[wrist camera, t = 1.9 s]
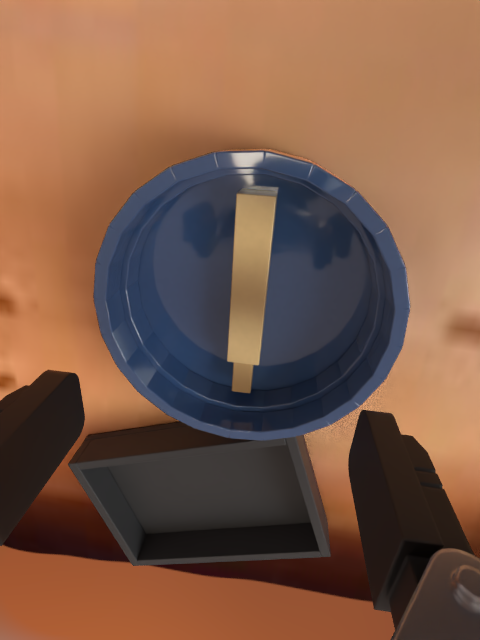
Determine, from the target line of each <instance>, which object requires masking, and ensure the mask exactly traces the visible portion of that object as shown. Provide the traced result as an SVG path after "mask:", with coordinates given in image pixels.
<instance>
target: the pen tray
mask: <svg viewBox="0 0 480 640" xmlns="http://www.w3.org/2000/svg"><path fill="white" fill-rule="evenodd" d="M68 465H69V467H70V468H71V470H72V472H73V473H74V475H75V476H76V478H77V479H78V481H79V482H80V484H81V486H82V487H83V489H84V490H85V492H86V493H87V495H88V497H89V498H90V500H91V501H92V503H93V504H94V506H95V507H96V509H97V511H98V512H99V514H100V515H101V517H102V518H103V520H104V521H105V523H106V525H107V526H108V528H109V529H110V531H111V532H112V534H113V536H114V537H115V539H116V540H117V542H118V543H119V545H120V546H121V548H122V550H123V551H124V553H125V554H126V556H127V557H128V559H129V561H130V562H131V564H132V565H133V566H138V565H162V564H184V563H205V562H226V561H248V560H269V559H290V558H312V557H321V556H322V557H330V544H329V534H328V523H327V518H326V514H325V511H324V507H323V503H322V500H321V496H320V493H319V489H318V485H317V482H316V478H315V475H314V471H313V468H312V464H311V460H310V457H309V453H308V450H307V446H306V442H305V439H304V435H301V436H296V437H290V438H282V439H274V440H266V441H264V440H263V441H259V440H246V439H232V438H226V437H223V436H219V435H216V434H212V433H208V432H205V431H201V430H198V429H197V428H196V429H195V428H193V427H191V426H189V425H187V424H185V423H183V422H177V423H170V424H163V425H156V426H149V427H143V428H136V429H129V430H122V431H115V432H108V433H101V434H95V435H88V436H87V437H86V439H85V441H84V442H83V443H82V445H81V446H80V448H79V449H78V450H77V452H76V453H75V455H74V456H73V458H72V459H71V461H70V462H69V463H68Z"/></svg>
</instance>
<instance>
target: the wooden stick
mask: <svg viewBox="0 0 480 640" xmlns="http://www.w3.org/2000/svg"><path fill="white" fill-rule="evenodd" d="M277 194H278V192H277V191H265V190H253V189H241V190H240V191H239V192H238V193H237V194H236V211H235V228H234V246H233V263H232V281H231V298H230V316H229V334H228V351H227V361H228V362H233V377H232V391H235V392H242V393H250V392H251V386H252V378H253V368H254V365H259V361H260V354H261V347H262V337H263V328H264V318H265V309H266V299H267V290H268V280H269V271H270V261H271V251H272V242H273V232H274V223H275V213H276V204H277Z"/></svg>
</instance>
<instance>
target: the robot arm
mask: <svg viewBox="0 0 480 640" xmlns="http://www.w3.org/2000/svg"><path fill="white" fill-rule="evenodd" d="M84 420H85V414H84V408H83V402H82V395H81V389H80V383H79V378H78V376H77V375H76V374H75V373H69V372H61V371H53V370H47V371H45V372H44V373H43V374H41V375H40V376H39V377H38V378H37V379H36V380H35V381H34V382H33V383H32V384H31V385H30V386H27V385H25V386H24V387H22V388H20V389H18V390H16V391H14V392H12V393H10V394H9V395H7V396H5V397H4V398H3V399H2V400H1V401H0V546H2V545H3V543H4V542H5V540H6V539H7V538H8V536H9V535H10V533H11V532H12V531H13V529H14V528H15V526H16V525H17V524H18V522H19V521H20V519H21V518H22V516H23V515H24V514H25V512H26V511H27V509H28V508H29V507H30V505H31V504H32V502H33V501H34V500H35V498H36V497H37V495H38V494H39V493H40V491H41V490H42V488H43V487H44V485H45V484H46V483H47V481H48V480H49V478H50V477H51V476H52V474H53V473H54V471H55V470H56V469H57V467H58V466H59V464H60V463H61V462H62V460H63V459H64V457H65V456H66V454H67V453H68V452H69V450H70V449H71V447H72V446H73V445H74V443H75V442H76V440H77V439H78V437H79V436H80V434H81V432H82V429H83V426H84ZM348 466H349V477H350V483H351V488H352V493H353V499H354V504H355V509H356V515H357V520H358V525H359V531H360V536H361V542H362V547H363V552H364V558H365V563H366V568H367V574H368V579H369V584H370V590H371V595H372V600H373V605H374V609H376V610H383V611H388V612H391V614H392V618H393V623H394V627H395V632H394V634H393V636H392V638H391V640H480V559H479V558H478V557H476V556H475V555H474V553H473V551H472V550H471V547H470V545H469V543H468V541H467V539H466V536H465V534H464V532H463V530H462V527H461V525H460V523H459V521H458V519H457V516H456V514H455V512H454V510H453V508H452V505H451V503H450V501H449V499H448V497H447V494H446V492H445V490H444V489H442V483H441V481H440V479H439V477H438V475H437V474H436V473H435V468H434V466H433V464H432V461H431V459H430V457H429V455H428V453H427V451H426V450H425V449H424V448H423V447H422V446H421V445H420V444H419V443H418V442H417V441H416V440H415V438H414V437H413V436H409V435H401V433H400V431H399V428H398V426H397V423H396V420H395V418H394V416H393V415H392V414H391V413H384V412H376V411H368V410H362V411H361V413H360V415H359V419H358V423H357V426H356V430H355V434H354V437H353V441H352V445H351V449H350V453H349V464H348Z"/></svg>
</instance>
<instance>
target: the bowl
mask: <svg viewBox="0 0 480 640" xmlns="http://www.w3.org/2000/svg"><path fill="white" fill-rule="evenodd" d="M241 189H253V190H265V191H277V192H278V194H277V204H276V213H275V223H274V232H273V242H272V251H271V261H270V271H269V280H268V290H267V299H266V309H265V318H264V328H263V337H262V347H261V354H260V361H259V365H254V368H253V378H252V386H251V392H250V393H242V392H235V391H232V377H233V362H228V361H227V351H228V334H229V316H230V298H231V281H232V263H233V246H234V228H235V211H236V194H237V193H238V192H239V191H240V190H241ZM93 298H94V304H95V309H96V314H97V318H98V323H99V328H100V332H101V335H102V337H103V339H104V342H105V344H106V346H107V348H108V350H109V352H110V354H111V356H112V358H113V360H114V362H115V364H116V365H117V367H118V368H119V370H120V371H121V372H122V373H123V374H124V376H125V377H126V378H127V379H128V380H129V382H130V383H131V384H132V385H133V387H134V388H135V389H136V390H137V391H138V392H139V393H140V394H141V395H143V396H144V397H145V398H146V399H148V400H149V401H150V402H151V403H153V404H154V405H155V406H156V407H158V408H159V409H160V410H162V411H163V412H164V413H166V414H167V415H169V416H171V417H173V418H175V419H177V420H179V421H181V422H183V423H185V424H187V425H189V426H191V427H193V428H195V429H196V428H197V429H198V430H201V431H205V432H208V433H212V434H216V435H219V436H223V437H226V438H232V439H246V440H259V441H263V440H264V441H266V440H274V439H282V438H290V437H296V436H301V435H304V434H306V433H309V432H312V431H315V430H318V429H321V428H324V427H326V426H329V425H331V424H333V423H335V422H336V421H338V420H339V419H341V418H342V417H344V416H346V415H347V414H349V413H350V412H352V411H354V410H355V409H357V408H358V407H360V405H362V404H363V403H364V402H365V401H366V399H367V398H368V397H369V396H370V395H371V394H372V393H373V392H374V391H375V390H376V389H377V388H378V387H379V386H380V385H381V384H382V383H383V382H384V380H385V379H386V378H387V376H388V374H389V372H390V370H391V368H392V366H393V364H394V362H395V361H396V359H397V357H398V355H399V353H400V351H401V349H402V346H403V342H404V337H405V332H406V327H407V322H408V317H409V312H410V299H409V290H408V280H407V271H406V267H405V263H404V261H403V259H402V257H401V254H400V252H399V250H398V247H397V245H396V243H395V241H394V238H393V236H392V234H391V232H390V229H389V227H388V226H387V224H386V223H385V222H384V221H383V219H382V218H381V217H380V216H379V215H378V214H377V213H376V211H375V210H374V209H373V208H372V207H371V206H370V205H369V203H368V202H367V201H366V200H365V199H364V198H363V197H362V195H361V194H360V193H359V192H358V191H357V190H355V188H353V187H352V186H351V185H349V184H348V183H347V182H345V181H344V180H342V179H341V178H339V177H337V176H336V175H334V174H333V173H331V172H329V171H328V170H326V169H325V168H323V167H321V166H320V165H318V164H317V163H315V162H313V161H310V160H309V159H306V158H302V157H299V156H295V155H291V154H288V153H284V152H280V151H277V150H273V149H232V150H223V151H216V152H211V153H208V154H205V155H202V156H199V157H196V158H193V159H190V160H187V161H184V162H181V163H178V164H175V165H172V166H171V167H168V168H167V169H165V170H164V171H163V172H161V173H160V174H158V175H157V176H155V177H154V178H153V179H151V180H150V181H148V182H147V183H146V184H144V185H143V186H141V187H140V188H139V189H137V190H136V191H135V192H134V193H133V194H132V195H131V196H130V198H129V199H128V200H127V202H126V203H125V204H124V206H123V207H122V208H121V209H120V211H119V212H118V213H117V215H116V216H115V217H114V219H113V220H112V221H111V223H110V225H109V226H108V229H107V231H106V234H105V237H104V240H103V242H102V245H101V248H100V251H99V254H98V256H97V259H96V263H95V280H94V297H93Z"/></svg>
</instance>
